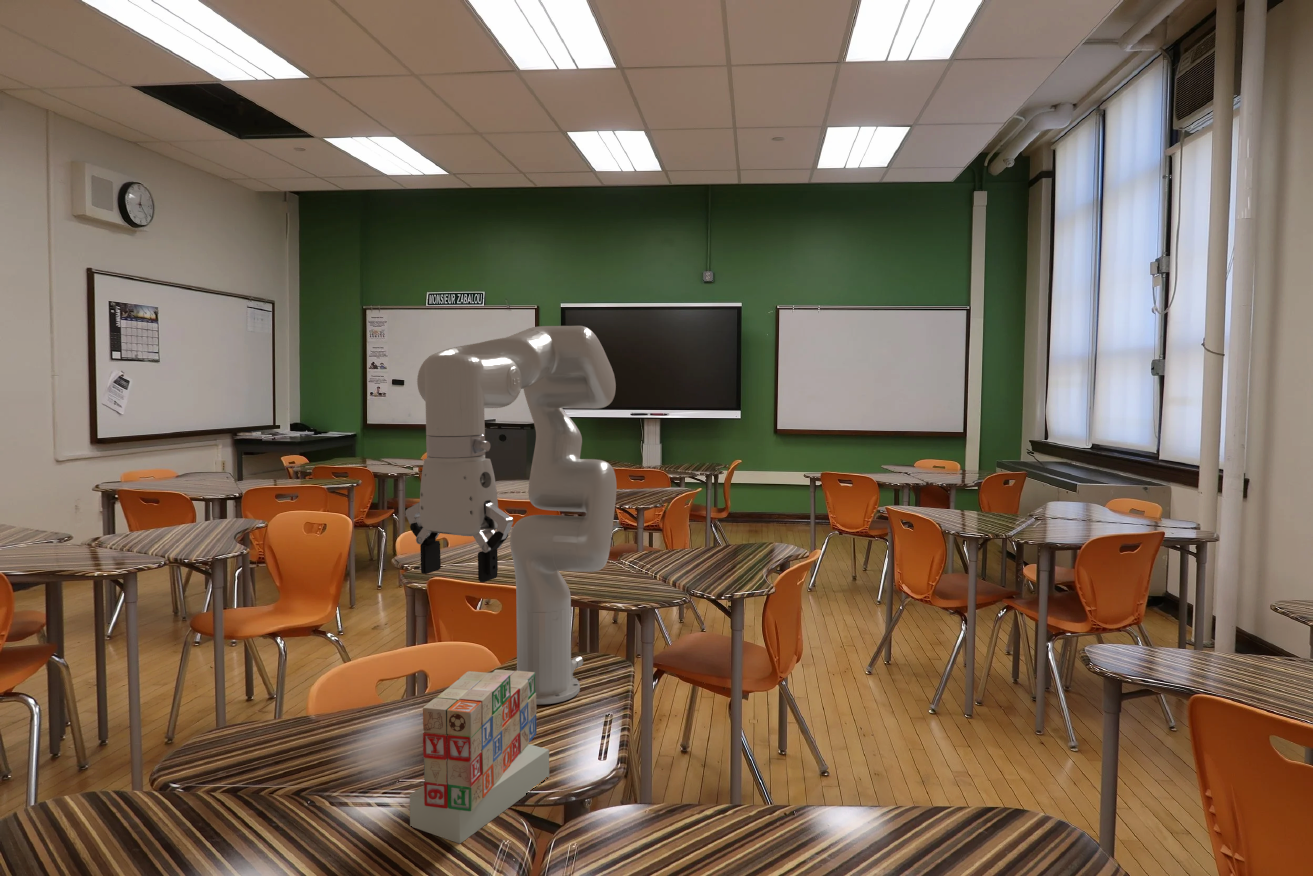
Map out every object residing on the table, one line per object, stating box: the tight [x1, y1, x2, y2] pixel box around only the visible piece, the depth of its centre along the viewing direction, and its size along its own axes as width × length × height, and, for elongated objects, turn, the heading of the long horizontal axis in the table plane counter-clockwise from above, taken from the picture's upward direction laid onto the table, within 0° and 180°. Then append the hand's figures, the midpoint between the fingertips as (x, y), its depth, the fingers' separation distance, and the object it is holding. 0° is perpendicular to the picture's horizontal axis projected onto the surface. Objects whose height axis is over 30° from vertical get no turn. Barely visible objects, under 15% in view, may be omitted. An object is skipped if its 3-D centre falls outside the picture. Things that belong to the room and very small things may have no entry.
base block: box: [409, 743, 550, 844], centre depth 103 cm, size 18×8×4 cm, turn 152°
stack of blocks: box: [422, 669, 537, 811], centre depth 103 cm, size 21×6×12 cm, turn 168°
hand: (458, 575), depth 105 cm, fingers open, 9 cm apart
